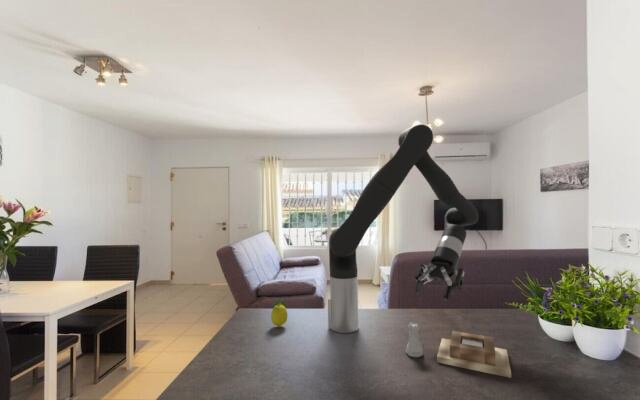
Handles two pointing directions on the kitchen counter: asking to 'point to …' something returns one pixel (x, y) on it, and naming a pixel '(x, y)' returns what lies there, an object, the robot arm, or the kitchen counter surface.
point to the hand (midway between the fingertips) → (430, 296)
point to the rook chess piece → (414, 341)
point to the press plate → (472, 342)
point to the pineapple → (279, 314)
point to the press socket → (474, 354)
